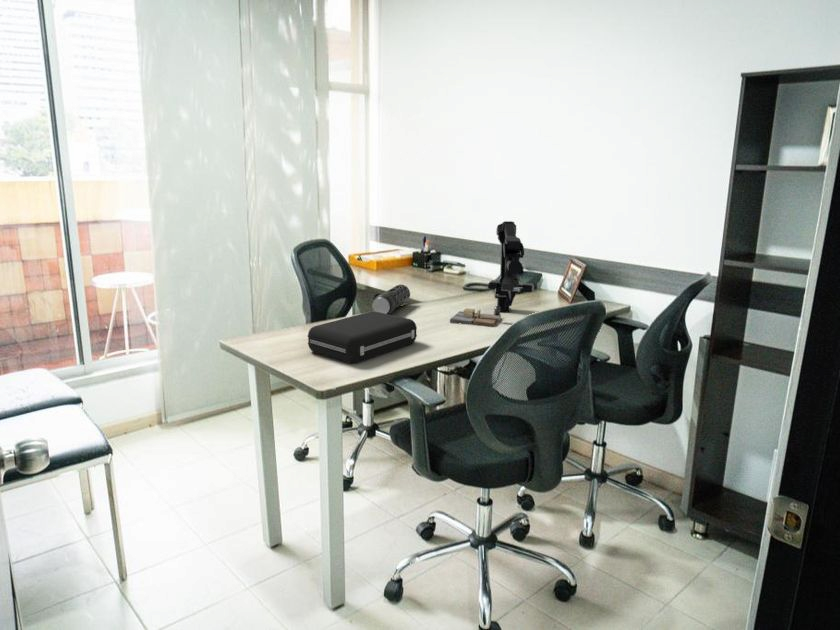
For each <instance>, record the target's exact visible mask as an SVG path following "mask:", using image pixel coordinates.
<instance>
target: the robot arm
mask: <svg viewBox="0 0 840 630" xmlns="http://www.w3.org/2000/svg"><path fill="white" fill-rule="evenodd" d="M495 233H496V236H497V240H498V242H499V244H500V273H499V274H500V276H499V277H498V279H497V280H492V279H491V280H490V281H489V282H488V284H487V289H488V290H494V293H493V295H494V299H497V300H496V301H497V303H496V306H500V313H510V312H511V311H512V308H511V307H512V305H513V304H514V303H513V302H514V299H515V297H516V295H517V294H519V293H520V292H521V290H522V292H526V293H532V292H533V291H534V290H535V285H534V283H533V282H524V283H523V284H520V278H519V274H520V273H521V272H522V271H523V264H522V262H521V261H520V258H521V259H523V258H524V256H525V247H524V244H523V242H522V241H521V239H520V237H517V225H516V224H515V221H510V220H509V221H507V220H505V221H503V222H502V223H500V224H498V225H497V226H496V231H495Z"/></svg>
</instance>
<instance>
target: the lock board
mask: <svg viewBox="0 0 840 630" xmlns="http://www.w3.org/2000/svg"><path fill="white" fill-rule="evenodd" d="M463 314H464V311H461V310H460V311H458V312H457V313H456V314H455V315H453V316H451V317H450V319H449V323H450V322H452V323H451V324H459V323H461V324H462V325H469V324H470V326H471V325H472V326H479V327H480V326H481V327H490V328H493V327H495V325H496V324H497V323H498V322H499V321H500V319H501V317H502V315H501V314H500V318H499V319H492V318H481V313H480V317H479V318H478V319H477V312H475V316H473V318H467V317H463Z"/></svg>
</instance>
